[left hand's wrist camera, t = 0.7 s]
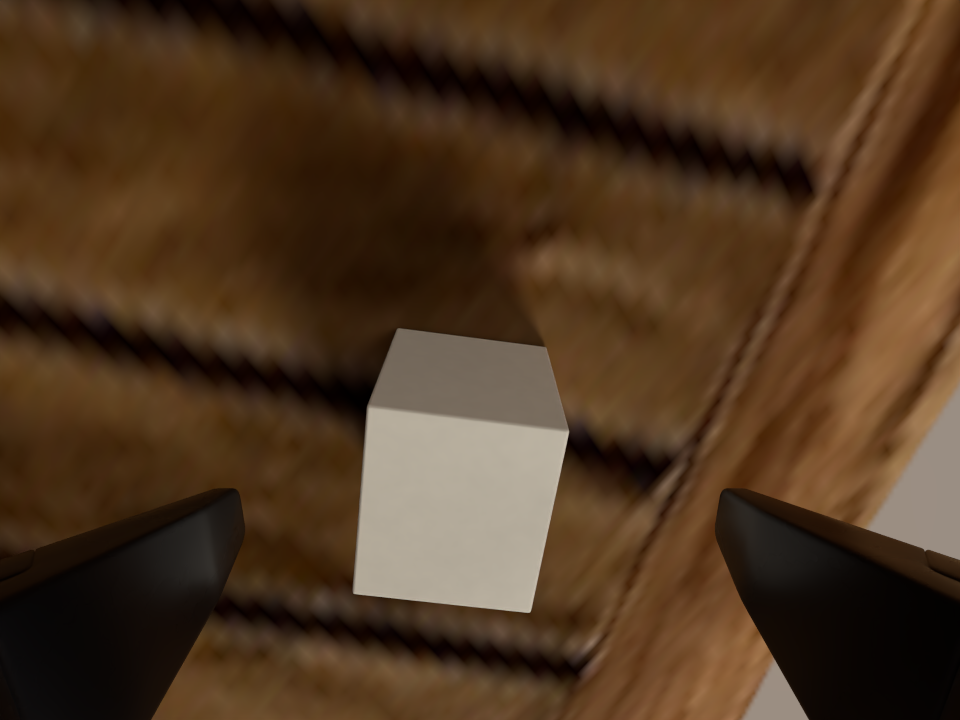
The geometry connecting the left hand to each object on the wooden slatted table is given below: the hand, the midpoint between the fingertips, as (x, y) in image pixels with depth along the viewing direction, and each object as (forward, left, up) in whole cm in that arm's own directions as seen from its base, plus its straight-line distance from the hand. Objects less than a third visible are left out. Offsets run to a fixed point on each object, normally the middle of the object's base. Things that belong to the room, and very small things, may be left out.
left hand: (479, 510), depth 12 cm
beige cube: (0, -1, -6) cm, 7 cm away
